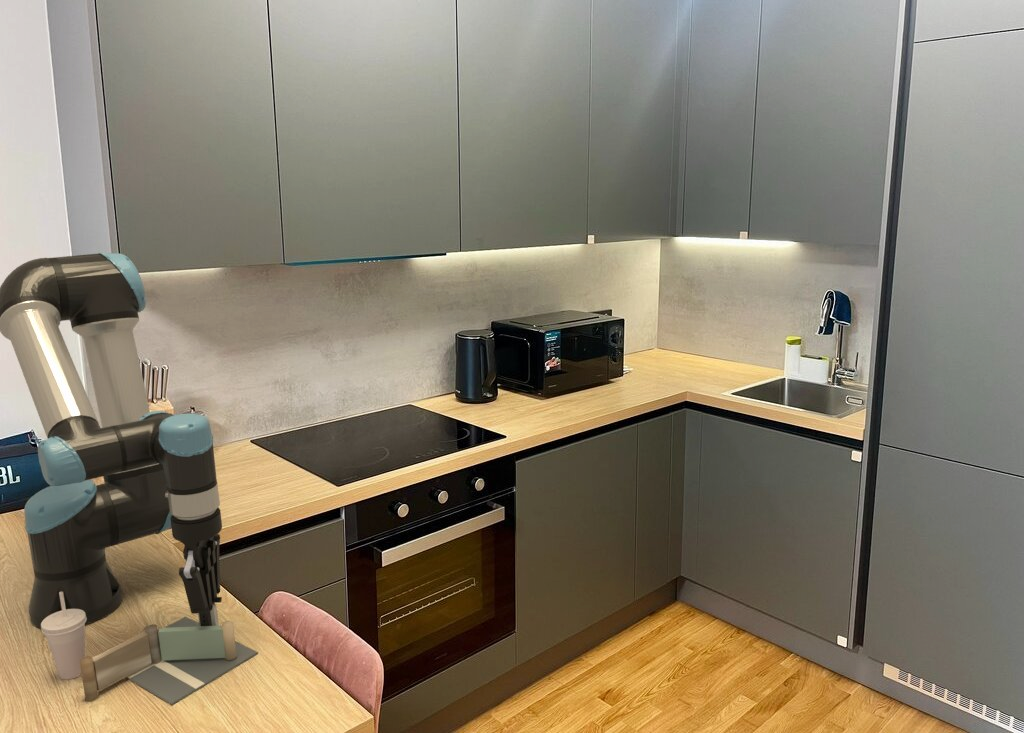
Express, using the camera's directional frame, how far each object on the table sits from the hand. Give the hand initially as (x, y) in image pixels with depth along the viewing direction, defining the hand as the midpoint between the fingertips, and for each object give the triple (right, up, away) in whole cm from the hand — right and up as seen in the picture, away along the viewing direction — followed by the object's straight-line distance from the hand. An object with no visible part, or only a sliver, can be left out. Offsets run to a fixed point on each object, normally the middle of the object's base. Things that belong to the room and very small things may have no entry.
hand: (211, 641), depth 137 cm
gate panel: (-1, -2, -2) cm, 3 cm away
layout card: (-5, -2, -1) cm, 5 cm away
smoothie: (-21, -4, -4) cm, 22 cm away
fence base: (-11, -4, -7) cm, 14 cm away
